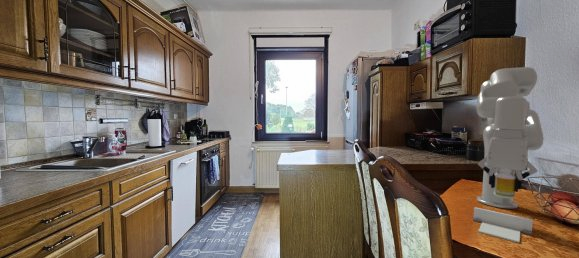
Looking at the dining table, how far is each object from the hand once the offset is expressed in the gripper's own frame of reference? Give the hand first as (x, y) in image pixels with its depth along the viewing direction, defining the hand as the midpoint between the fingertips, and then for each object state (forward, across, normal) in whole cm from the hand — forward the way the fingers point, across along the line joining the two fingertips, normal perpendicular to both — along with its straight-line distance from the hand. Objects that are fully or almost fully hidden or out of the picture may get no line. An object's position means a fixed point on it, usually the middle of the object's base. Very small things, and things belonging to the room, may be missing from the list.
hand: (504, 188), depth 85 cm
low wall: (+10, 0, +8) cm, 13 cm away
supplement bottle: (+3, 0, 0) cm, 3 cm away
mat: (+10, 0, +14) cm, 17 cm away
